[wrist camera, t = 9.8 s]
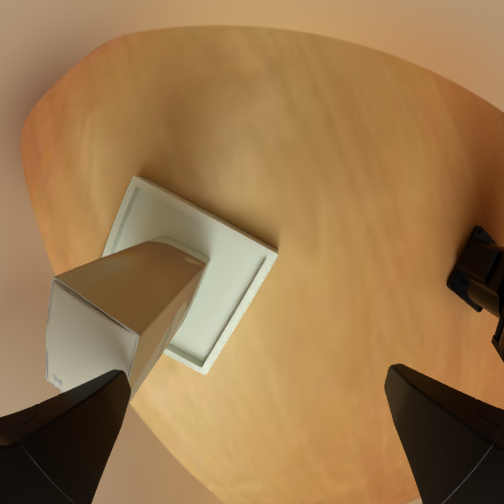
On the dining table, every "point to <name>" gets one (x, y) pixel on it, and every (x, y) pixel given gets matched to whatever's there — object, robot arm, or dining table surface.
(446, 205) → the dining table surface
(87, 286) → the skincare box
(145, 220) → the sage dish
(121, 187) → the dining table surface
